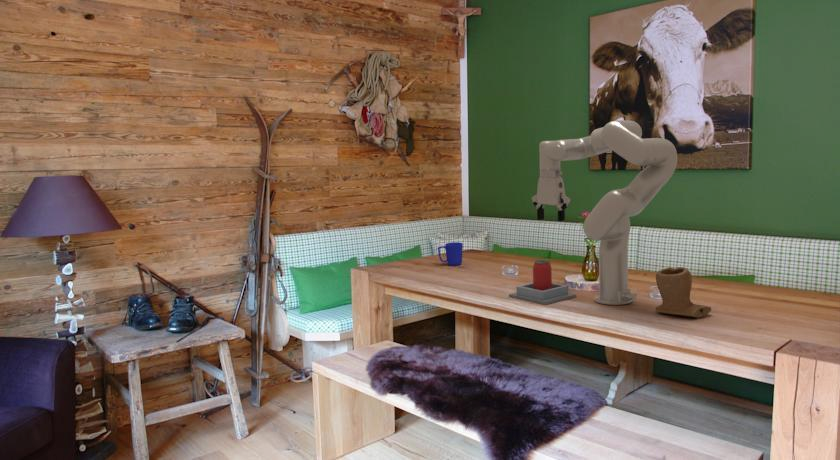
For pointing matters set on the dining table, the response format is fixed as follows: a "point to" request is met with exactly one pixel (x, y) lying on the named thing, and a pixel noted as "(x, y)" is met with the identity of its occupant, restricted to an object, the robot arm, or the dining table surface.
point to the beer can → (542, 275)
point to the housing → (542, 294)
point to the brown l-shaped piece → (678, 293)
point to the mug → (452, 253)
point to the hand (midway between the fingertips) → (550, 220)
